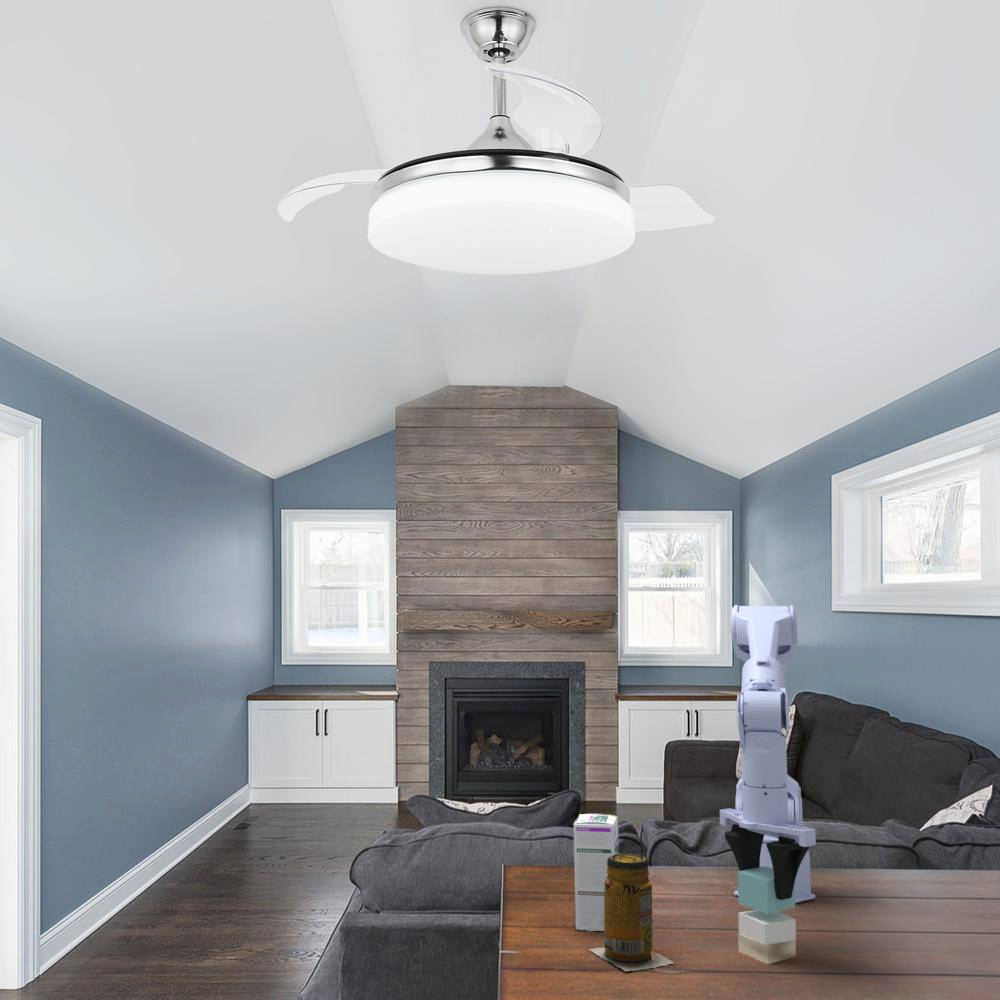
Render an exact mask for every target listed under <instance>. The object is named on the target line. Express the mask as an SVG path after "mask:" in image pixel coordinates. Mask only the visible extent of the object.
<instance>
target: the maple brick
mask: <svg viewBox="0 0 1000 1000" xmlns="http://www.w3.org/2000/svg"><path fill="white" fill-rule="evenodd" d="M737 941H738V942H737V944H738V945H737V946H738V948H737V949H738V951H739V952H738V953H740V952H741V953H740V954H742V953H743V955H745V954H746V955H745V956H747V955H749V956H748V957H750V956H751V957H750V958H752V957H753V958H752V959H754V958H755V960H757V961H759V962H762V963H764V964H766V965H770V964H774V963H777V962H781V961H784V960H789V959H792V958H796V957H797V950H796V948H797V946H796V945H797V943H796V942H797V939H796V940H791V941H786V942H780V943H775V944H769V945H763V944H761V943H759V942H757V941H755V940H753V939H751V938H748V937H746V936H744V935H742V934H740V933H738V934H737Z"/></svg>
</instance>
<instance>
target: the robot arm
mask: <svg viewBox="0 0 1000 1000" xmlns="http://www.w3.org/2000/svg"><path fill="white" fill-rule="evenodd" d="M797 610H798V609H797V608H796V607H795V606H794V604H792V605H791V604H789V606H788V605H772V606H771V605H739V604H738V605H737V604H734V606H733V607H732V608H731V609H730V632H731V633H730V635H731V642H732V646H733V652H734V653H735V658H737V659H739V660H741V661H743V662H744V664H743V667H742V669H741V685H740V686H741V691H740V692H741V693H739V694H737V698H736V725H737V730H738V735H739V748H740V749H741V752H740V754H741V755H740V756H741V758H740V759H741V760H740V761H741V778H739V779H738V780H737V781H738V782H737V784H736V786H735V787H736V789H735V790H736V794H735V809H734V808H723V809H719V825H721V826H731V829H730V830H729V831H725V832H724V838H725V840H726V842H727V843H728V845H729V848H730V849H731V851H732V853H733V856H734V859H735V861H736V863H737V867H738V870H739V871H743V870H748V869H753V868H758V867H763V866H766V867H770V868H773V871H774V885H775V893H776V897H777V899H779V900H784V899H788V898H791V897H792V892H793V887H794V883H795V904H796V903H801V902H804V901H809V900H813V899H816V895H815V894H814V893H812V889H811V856H810V851H809V849H810V847H813V846H816V845H817V843H816V839H817V837H816V829H814V828H811V827H808V826H805V825H804V824H803V800H802V799H803V798H802V793H801V791H802V789H801V786H800V785H799V783H798V781H796V780H795V779H794V778H792V777H791V776H790V775H789V774H788V759H787V758H788V757H787V737H788V735H789V731H790V713H789V712H790V710H789V709H790V708H789V707H790V706H789V697H788V694H787V688H786V680H785V679H786V678H785V676H786V675H785V668H784V664H785V663H787V662H790V661H792V660H794V659H796V654H797V652H798V650H797V649H798V648H797V645H798V641H799V640H798V639H799V638H798V613H797ZM783 729H784V730H785V731H786V733H785V734H786V735H785V734H784V733H783V732H782V730H783ZM786 736H787V737H786ZM733 895H734V896H736V895H737V897H738V890H734V892H733Z"/></svg>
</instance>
